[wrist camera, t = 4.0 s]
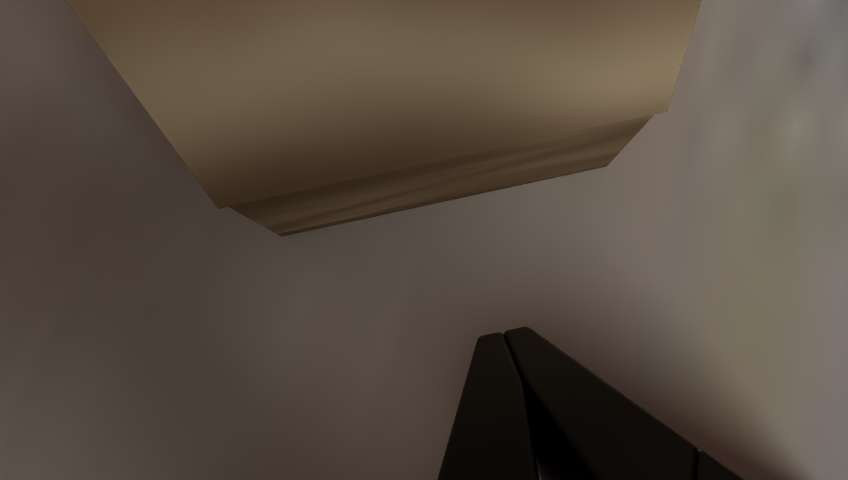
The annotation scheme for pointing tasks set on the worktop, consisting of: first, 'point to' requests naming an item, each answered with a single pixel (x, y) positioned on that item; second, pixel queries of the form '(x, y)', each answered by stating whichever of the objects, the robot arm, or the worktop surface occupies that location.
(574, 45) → the lid
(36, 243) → the worktop surface
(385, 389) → the worktop surface
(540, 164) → the cardboard box
